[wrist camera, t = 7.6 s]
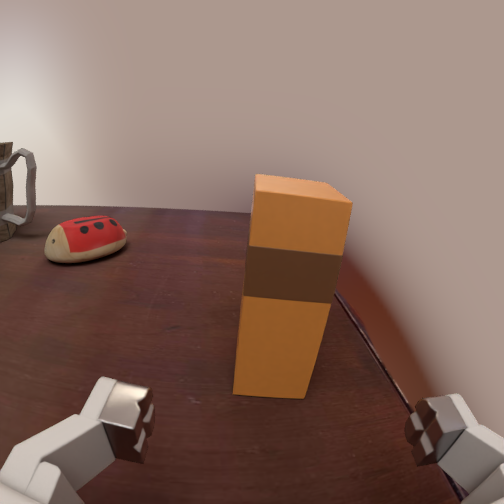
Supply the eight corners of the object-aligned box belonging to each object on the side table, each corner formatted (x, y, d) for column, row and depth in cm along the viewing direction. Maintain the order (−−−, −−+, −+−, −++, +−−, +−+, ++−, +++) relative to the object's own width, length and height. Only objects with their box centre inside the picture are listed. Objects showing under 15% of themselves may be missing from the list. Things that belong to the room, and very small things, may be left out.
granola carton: (304, 399, 16) (354, 202, 13) (232, 394, 16) (254, 189, 12) (296, 346, 21) (328, 182, 17) (236, 341, 21) (255, 173, 17)
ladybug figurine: (39, 252, 30) (35, 221, 28) (112, 235, 37) (111, 207, 36) (56, 274, 26) (51, 238, 25) (140, 251, 33) (139, 220, 32)
